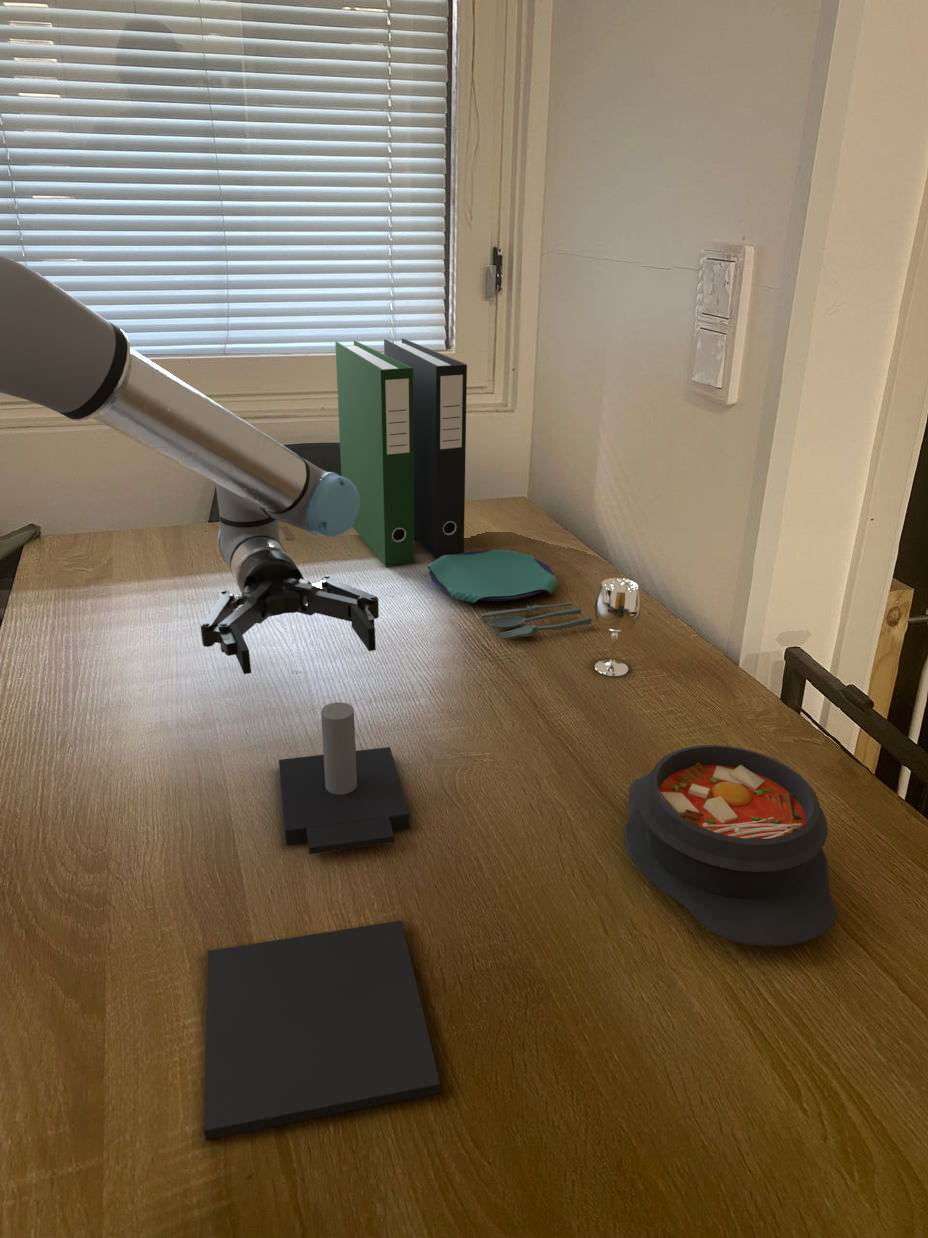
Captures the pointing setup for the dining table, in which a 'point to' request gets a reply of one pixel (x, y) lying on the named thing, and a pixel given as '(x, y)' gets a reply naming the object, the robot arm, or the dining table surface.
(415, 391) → the binder
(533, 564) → the cutlery set
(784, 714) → the dining table surface
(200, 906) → the dining table surface
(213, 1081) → the black pad
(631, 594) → the wineglass
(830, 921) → the casserole
